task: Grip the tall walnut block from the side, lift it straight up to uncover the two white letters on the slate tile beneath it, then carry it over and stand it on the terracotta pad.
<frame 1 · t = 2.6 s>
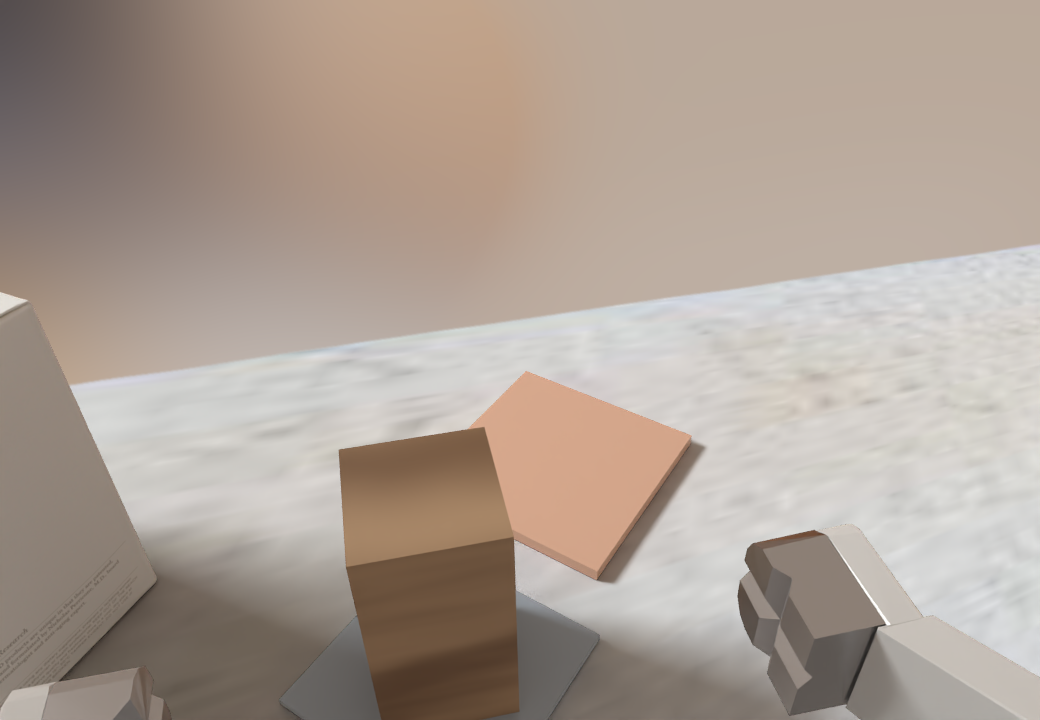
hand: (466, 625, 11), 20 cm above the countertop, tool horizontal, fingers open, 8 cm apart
code tile: (444, 670, 33), on the countertop
walnut block: (444, 666, 33), resting on code tile
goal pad: (556, 466, 42), on the countertop
supplement box: (10, 624, 35), on the countertop
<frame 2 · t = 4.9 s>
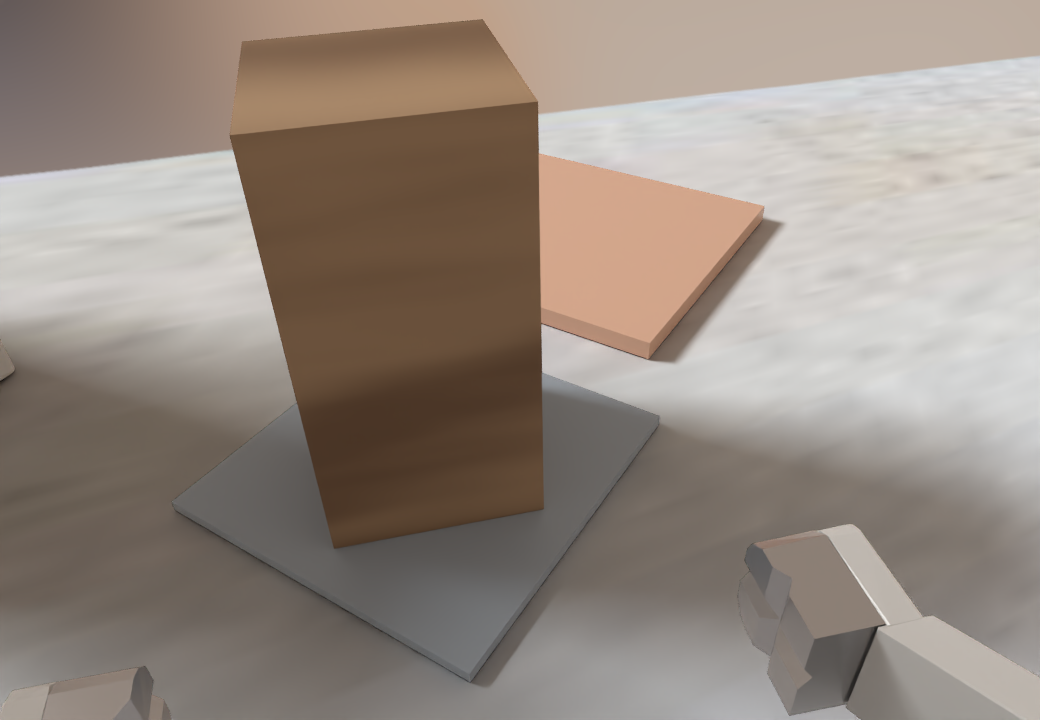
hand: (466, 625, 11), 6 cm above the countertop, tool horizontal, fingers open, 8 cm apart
code tile: (428, 465, 22), on the countertop
walnut block: (426, 456, 22), resting on code tile
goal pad: (583, 245, 31), on the countertop
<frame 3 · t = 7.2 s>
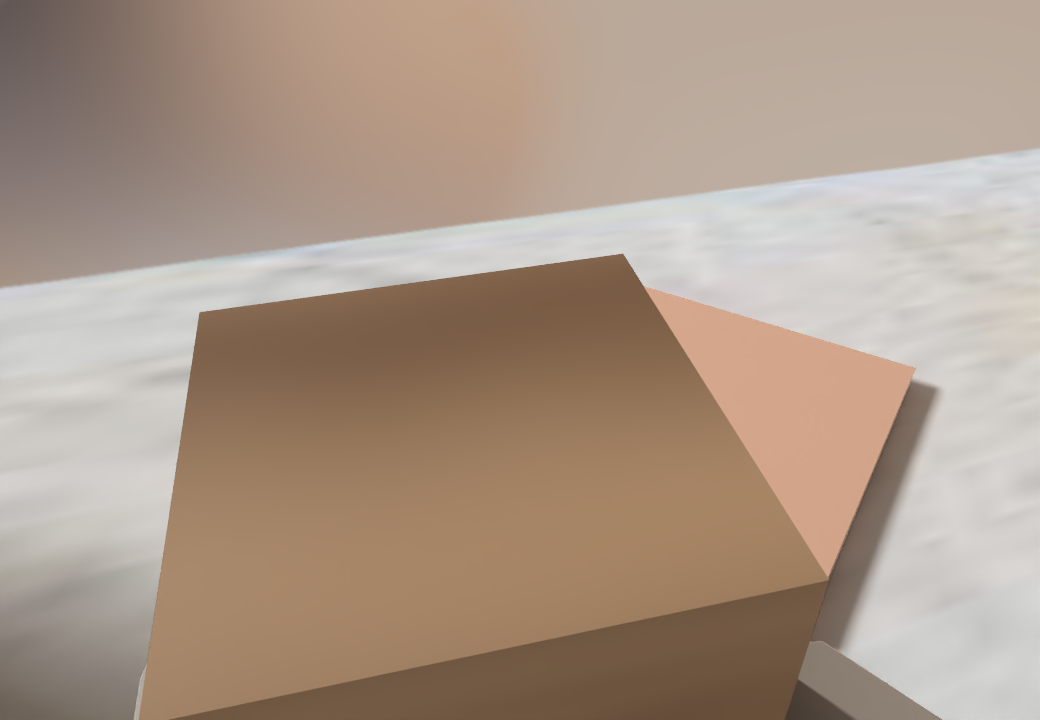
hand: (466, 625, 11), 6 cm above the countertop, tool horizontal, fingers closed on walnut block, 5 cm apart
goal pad: (678, 424, 23), on the countertop
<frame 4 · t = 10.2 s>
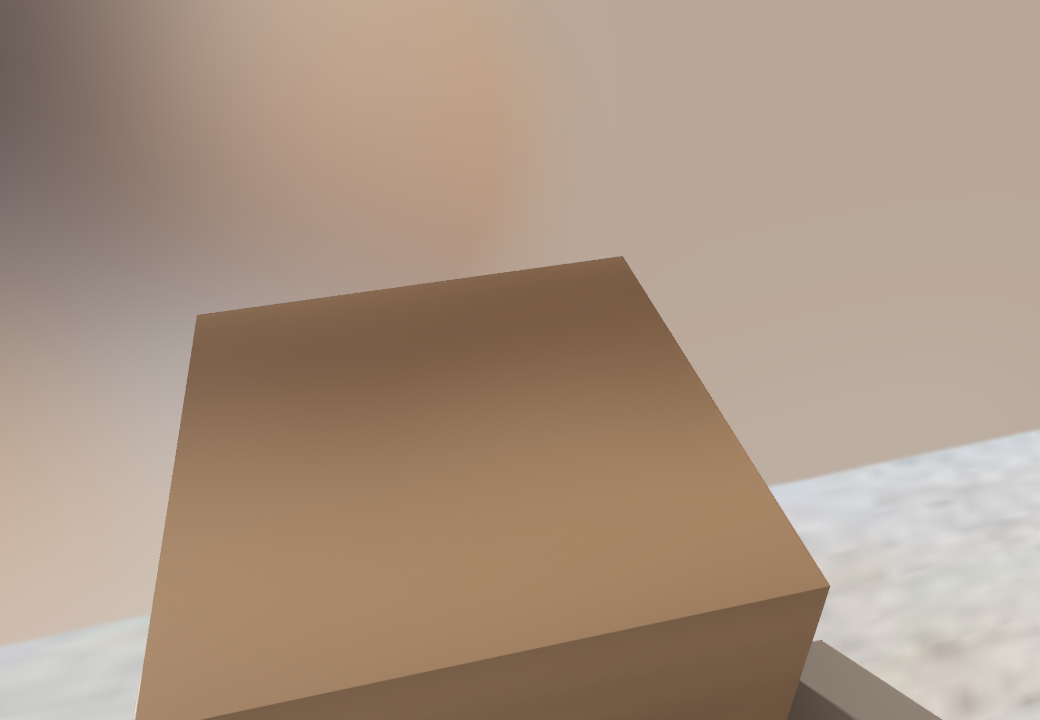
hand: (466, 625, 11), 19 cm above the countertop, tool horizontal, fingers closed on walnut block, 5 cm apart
when the fingers open (7 cm above the countertop, at t = 13.2 s): walnut block drops 1 cm, resting on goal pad.
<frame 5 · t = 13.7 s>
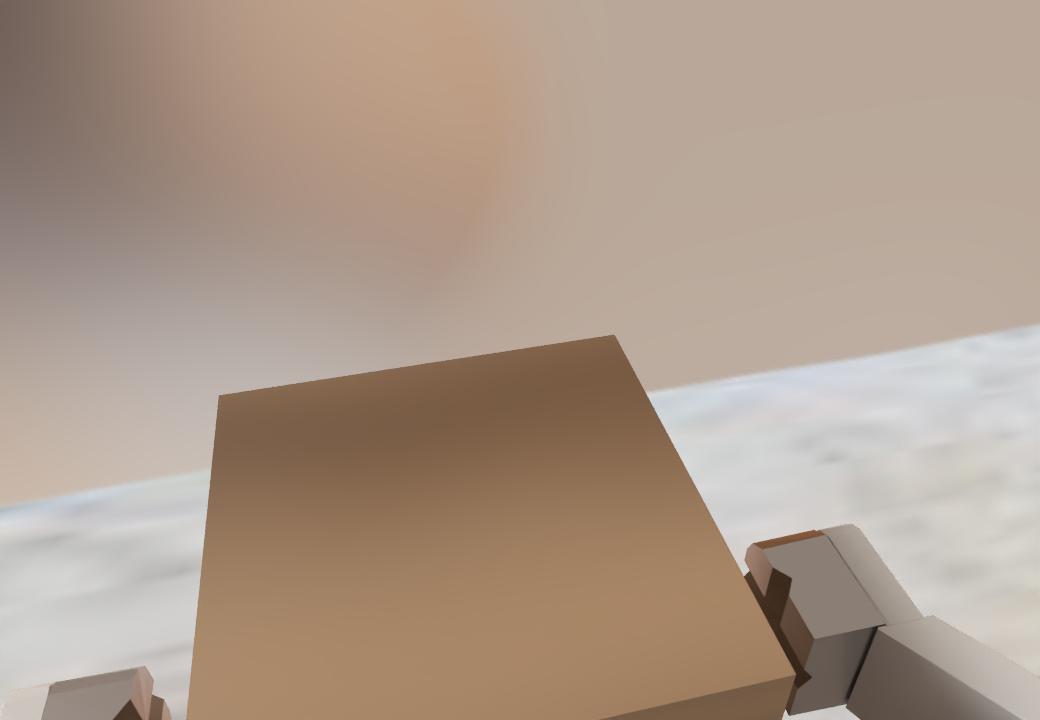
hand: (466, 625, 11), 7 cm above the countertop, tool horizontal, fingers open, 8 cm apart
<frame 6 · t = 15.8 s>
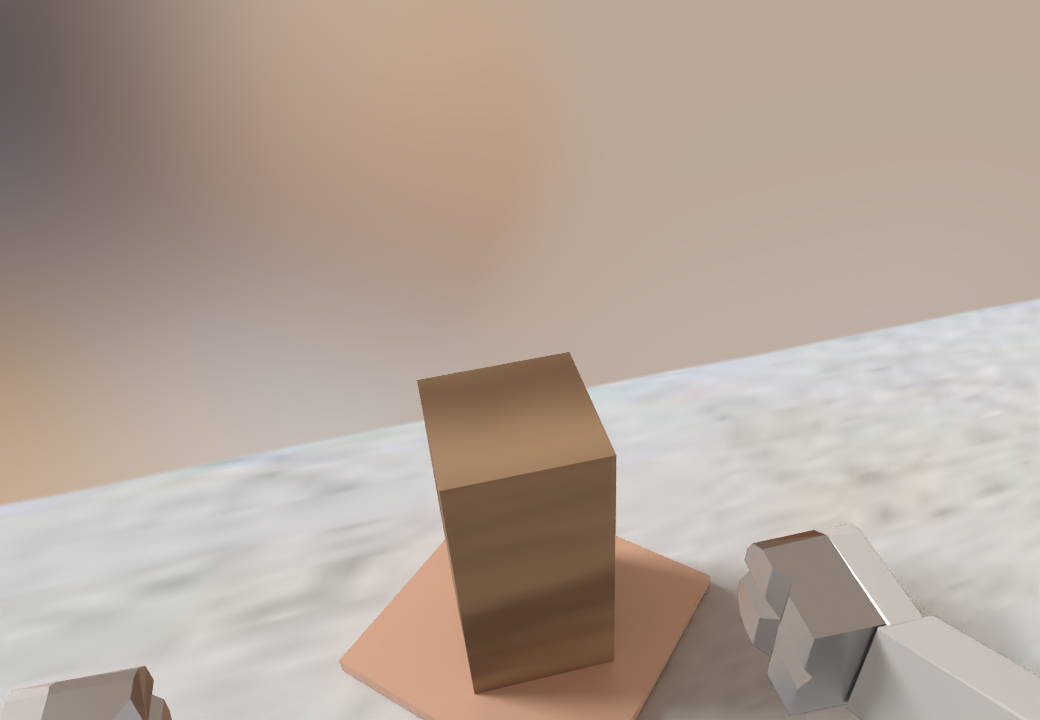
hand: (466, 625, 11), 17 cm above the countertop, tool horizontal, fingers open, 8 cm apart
walnut block: (529, 618, 31), point 1 cm above the countertop, touching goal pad
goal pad: (531, 626, 31), on the countertop
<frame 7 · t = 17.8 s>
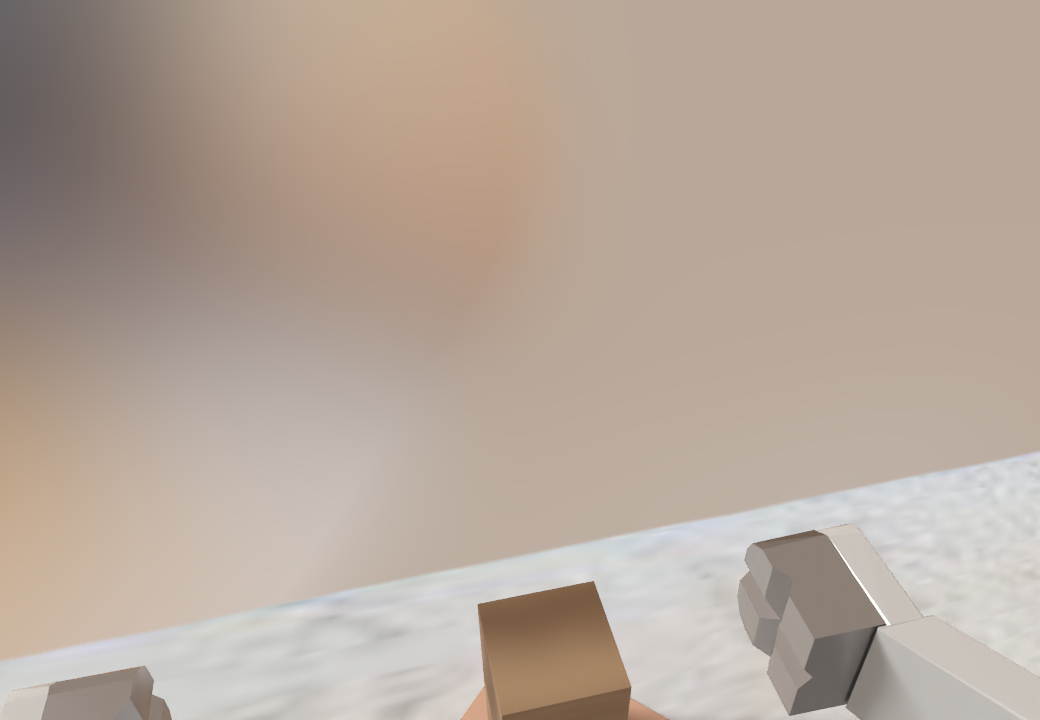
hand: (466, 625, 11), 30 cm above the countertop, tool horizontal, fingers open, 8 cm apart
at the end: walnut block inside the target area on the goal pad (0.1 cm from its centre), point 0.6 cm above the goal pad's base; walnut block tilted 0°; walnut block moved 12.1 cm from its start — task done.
